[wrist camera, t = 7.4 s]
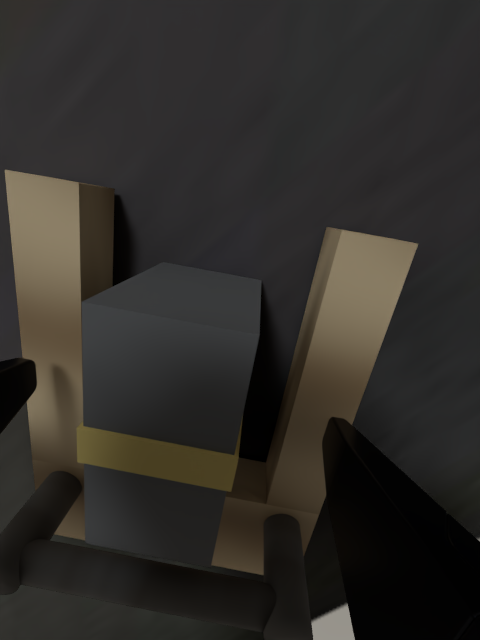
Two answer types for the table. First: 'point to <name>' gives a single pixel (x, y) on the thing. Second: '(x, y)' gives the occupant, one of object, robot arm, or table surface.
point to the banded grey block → (164, 407)
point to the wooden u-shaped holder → (251, 476)
